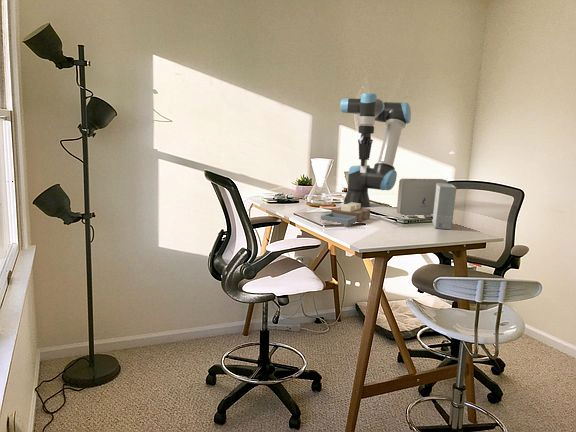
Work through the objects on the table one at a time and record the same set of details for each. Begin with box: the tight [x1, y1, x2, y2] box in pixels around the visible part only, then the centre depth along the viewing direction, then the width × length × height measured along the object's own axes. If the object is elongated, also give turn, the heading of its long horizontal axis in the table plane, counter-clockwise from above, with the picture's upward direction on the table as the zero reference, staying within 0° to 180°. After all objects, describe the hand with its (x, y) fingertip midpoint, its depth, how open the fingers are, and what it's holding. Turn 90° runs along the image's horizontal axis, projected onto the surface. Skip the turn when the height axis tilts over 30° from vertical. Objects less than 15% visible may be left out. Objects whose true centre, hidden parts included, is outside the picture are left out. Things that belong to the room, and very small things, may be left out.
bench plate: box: [330, 206, 371, 223], centre depth 231 cm, size 15×14×5 cm
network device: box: [396, 178, 449, 217], centre depth 242 cm, size 26×9×20 cm, turn 104°
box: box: [320, 212, 357, 228], centre depth 220 cm, size 10×14×4 cm
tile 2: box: [348, 202, 362, 210], centre depth 233 cm, size 5×5×2 cm
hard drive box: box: [431, 183, 457, 230], centre depth 223 cm, size 16×8×20 cm, turn 168°
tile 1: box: [340, 203, 355, 212], centre depth 227 cm, size 5×5×2 cm
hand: (363, 172), depth 236 cm, fingers closed
